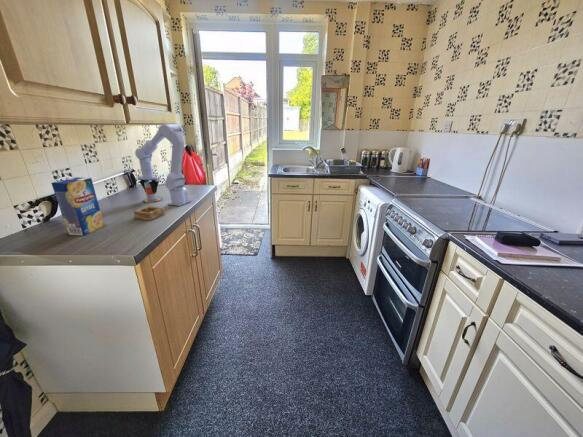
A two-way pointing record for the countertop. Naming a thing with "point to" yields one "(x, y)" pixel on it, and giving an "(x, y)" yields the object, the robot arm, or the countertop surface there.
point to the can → (149, 192)
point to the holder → (148, 213)
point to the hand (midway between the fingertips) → (151, 192)
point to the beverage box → (78, 205)
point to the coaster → (152, 201)
